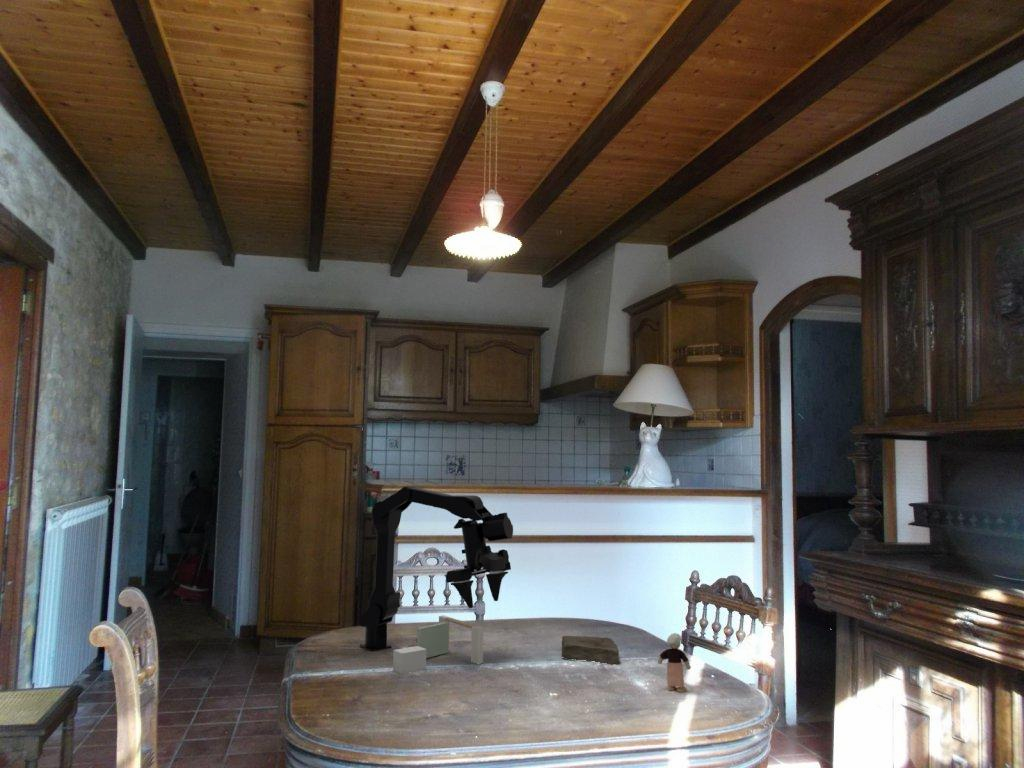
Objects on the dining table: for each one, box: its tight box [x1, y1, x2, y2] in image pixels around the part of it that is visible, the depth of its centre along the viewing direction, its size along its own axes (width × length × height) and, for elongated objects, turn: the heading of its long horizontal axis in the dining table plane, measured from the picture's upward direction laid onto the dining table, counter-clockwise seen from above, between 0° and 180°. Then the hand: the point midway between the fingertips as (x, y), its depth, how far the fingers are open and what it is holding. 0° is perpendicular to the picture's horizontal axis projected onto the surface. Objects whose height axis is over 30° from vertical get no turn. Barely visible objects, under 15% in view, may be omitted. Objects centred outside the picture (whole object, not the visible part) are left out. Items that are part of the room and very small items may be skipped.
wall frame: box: [438, 615, 484, 665], centre depth 210 cm, size 18×2×9 cm, turn 39°
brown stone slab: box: [561, 635, 620, 665], centre depth 213 cm, size 17×15×4 cm
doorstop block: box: [392, 645, 427, 675], centre depth 196 cm, size 4×7×5 cm, turn 129°
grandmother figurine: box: [657, 632, 691, 693], centre depth 184 cm, size 8×4×13 cm, turn 71°
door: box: [415, 622, 450, 659], centre depth 210 cm, size 10×2×8 cm, turn 139°
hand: (483, 604), depth 206 cm, fingers open, 9 cm apart
